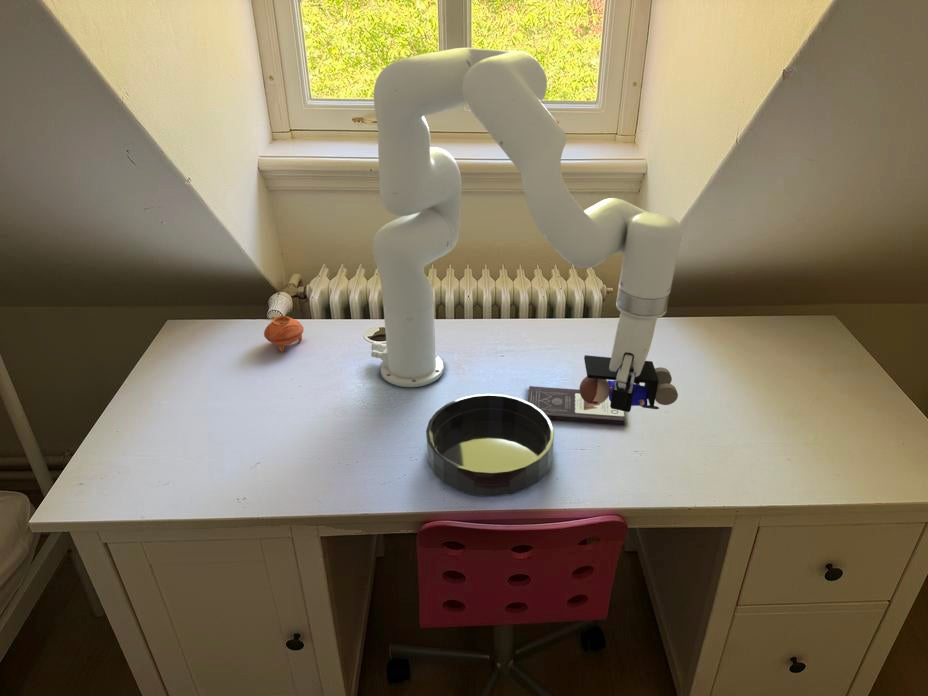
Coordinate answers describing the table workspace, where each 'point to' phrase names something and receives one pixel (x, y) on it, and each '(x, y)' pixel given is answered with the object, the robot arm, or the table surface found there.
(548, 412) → the chocolate bar
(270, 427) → the table surface
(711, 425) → the table surface
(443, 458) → the bowl
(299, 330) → the pot
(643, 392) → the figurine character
